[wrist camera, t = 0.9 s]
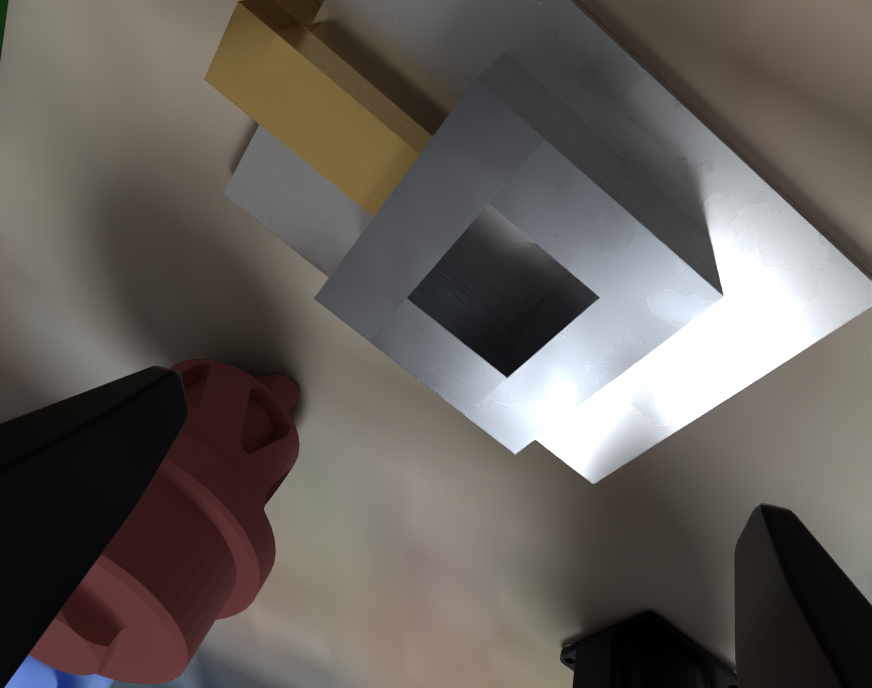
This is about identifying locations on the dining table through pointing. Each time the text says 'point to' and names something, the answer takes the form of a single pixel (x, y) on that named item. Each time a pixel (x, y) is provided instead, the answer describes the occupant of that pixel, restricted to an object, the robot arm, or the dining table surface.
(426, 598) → the dining table surface
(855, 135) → the dining table surface
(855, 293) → the square socket plate
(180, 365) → the mechanical component
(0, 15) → the milk carton
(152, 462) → the robot arm
